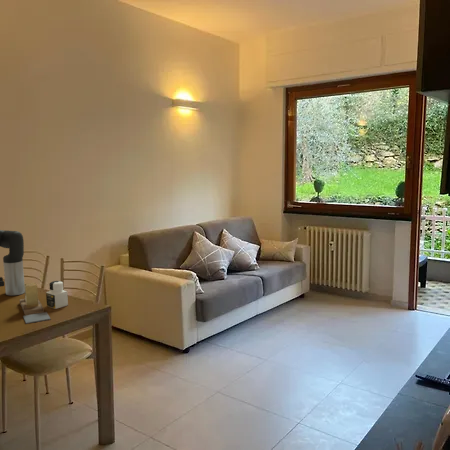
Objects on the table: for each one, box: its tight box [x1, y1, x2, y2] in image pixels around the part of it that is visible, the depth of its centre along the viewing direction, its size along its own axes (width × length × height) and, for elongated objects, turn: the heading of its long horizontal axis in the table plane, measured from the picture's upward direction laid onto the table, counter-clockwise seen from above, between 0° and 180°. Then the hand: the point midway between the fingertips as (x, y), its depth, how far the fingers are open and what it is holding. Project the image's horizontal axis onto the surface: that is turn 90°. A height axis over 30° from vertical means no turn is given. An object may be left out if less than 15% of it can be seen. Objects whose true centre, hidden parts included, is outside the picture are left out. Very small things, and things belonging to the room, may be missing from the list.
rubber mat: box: [22, 311, 51, 324], centre depth 206 cm, size 10×10×1 cm
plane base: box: [19, 298, 45, 316], centre depth 220 cm, size 20×8×8 cm, turn 30°
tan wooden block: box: [24, 282, 39, 308], centre depth 217 cm, size 5×5×10 cm
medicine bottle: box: [45, 280, 69, 310], centre depth 222 cm, size 7×7×12 cm
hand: (3, 281), depth 210 cm, fingers open, 8 cm apart
